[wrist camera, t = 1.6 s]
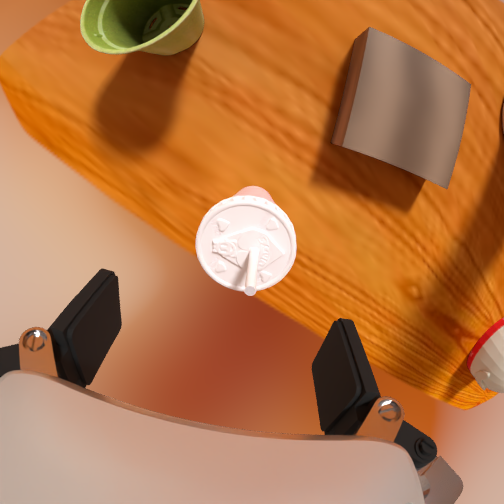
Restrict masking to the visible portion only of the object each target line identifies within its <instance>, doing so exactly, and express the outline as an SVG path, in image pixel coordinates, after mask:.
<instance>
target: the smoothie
mask: <svg viewBox="0 0 504 504" xmlns="http://www.w3.org/2000/svg"><path fill="white" fill-rule="evenodd" d="M196 253H197V256H198V259H199V262H200V264H201V266H202V267H203V269H204V270H205V272H206V273H207V274H208V275H209V276H210V277H211V278H212V279H213V280H215V281H216V282H217V283H219V284H221V285H223V286H225V287H227V288H230V289H233V290H237V291H244V292H245V293H246V294H247V295H254V294H255V293H256V291H258V290H262V289H266V288H268V287H270V286H273V285H274V284H276V283H277V282H279V281H280V280H281V279H282V278H284V276H285V275H286V274H287V273H288V272H289V270H290V269H291V267H292V265H293V263H294V260H295V256H296V235H295V231H294V228H293V225H292V223H291V221H290V220H289V218H288V216H287V215H286V213H284V212H283V211H282V210H281V209H280V208H279V207H278V206H277V205H276V204H275V203H274V201H273V200H272V198H271V196H270V195H269V193H268V192H267V191H266V190H264V189H263V188H261V187H257V186H248V187H245V188H243V189H242V190H240V191H239V192H238V193H236V194H235V195H234V196H233V197H231V198H228V199H224V200H222V201H221V202H219V203H218V204H216V205H215V206H213V207H212V208H211V209H210V210H209V211H208V212H207V214H206V215H205V216H204V218H203V220H202V222H201V224H200V226H199V229H198V232H197V236H196Z"/></svg>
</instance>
